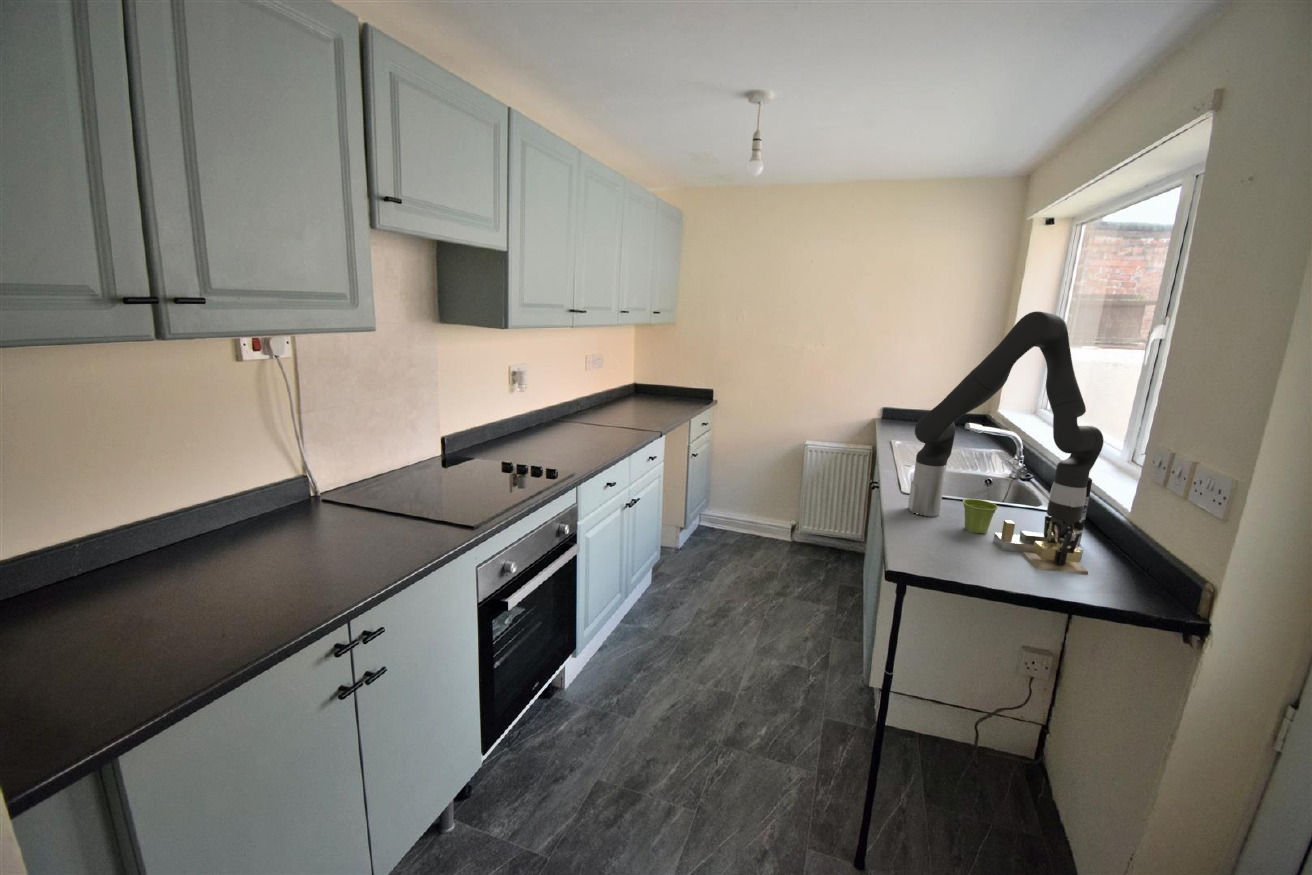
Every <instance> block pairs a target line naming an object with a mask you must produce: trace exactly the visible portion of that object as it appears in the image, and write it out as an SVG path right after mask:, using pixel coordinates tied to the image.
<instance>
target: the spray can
mask: <svg viewBox="0 0 1312 875" xmlns="http://www.w3.org/2000/svg"><path fill="white" fill-rule="evenodd" d="M1092 484H1093V479H1092V478H1091V477H1089V478H1088V483H1087V488H1086V499H1085V503H1084V508H1083V513H1082V518H1081V520H1080V521H1078V522H1075V523H1074V530H1075V532H1076V534H1079V539H1078V542H1077V545H1078V546H1079V545H1081V541H1082V536H1083V532H1084V526H1085V520H1086V518H1087V516H1086V515H1087V512H1088V506H1089V501H1090V496H1091V490H1092ZM1060 539H1062V538H1060Z"/></svg>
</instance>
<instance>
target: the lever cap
mask: <svg viewBox="0 0 1312 875" xmlns="http://www.w3.org/2000/svg"><path fill="white" fill-rule="evenodd" d="M1062 545H1063V544H1062ZM1070 547H1071V546H1070ZM1033 552H1034V553H1035V554H1037V555H1038V556H1039V557H1040V558H1041V559H1047V560H1055V558H1056V553H1057V543H1051V542H1040V541H1035V543H1034V549H1033ZM1080 557H1081V552H1080V551H1079V550H1078V549H1077V548H1076V547H1075V550H1074V553H1067V557H1066V561H1067V562H1076V563H1079V564H1080V560H1081V558H1080Z"/></svg>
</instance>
